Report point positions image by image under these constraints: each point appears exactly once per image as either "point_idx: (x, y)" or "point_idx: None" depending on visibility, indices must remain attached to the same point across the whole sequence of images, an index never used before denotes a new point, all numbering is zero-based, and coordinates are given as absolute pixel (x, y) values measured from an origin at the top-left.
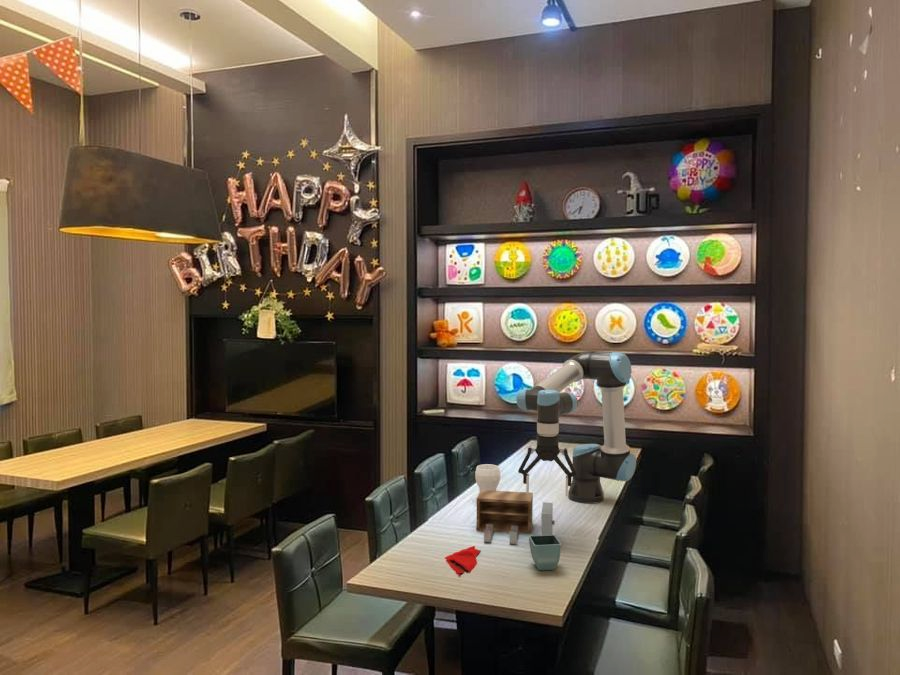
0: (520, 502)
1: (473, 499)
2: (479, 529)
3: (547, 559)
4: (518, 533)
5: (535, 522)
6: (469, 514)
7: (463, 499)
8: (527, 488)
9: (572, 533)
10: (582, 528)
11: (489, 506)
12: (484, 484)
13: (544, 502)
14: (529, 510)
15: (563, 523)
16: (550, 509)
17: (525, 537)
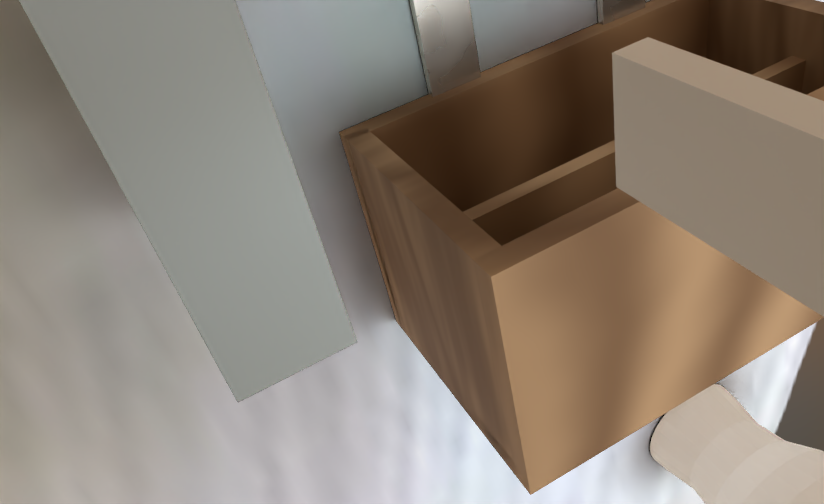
0: (586, 213)
1: (747, 406)
2: None
3: None
4: (427, 58)
5: (384, 352)
6: None
7: (787, 376)
8: (719, 77)
9: (14, 345)
10: (2, 482)
11: None
12: (801, 461)
13: (335, 346)
14: (450, 217)
15: (197, 461)
16: (123, 131)
17: (349, 23)
